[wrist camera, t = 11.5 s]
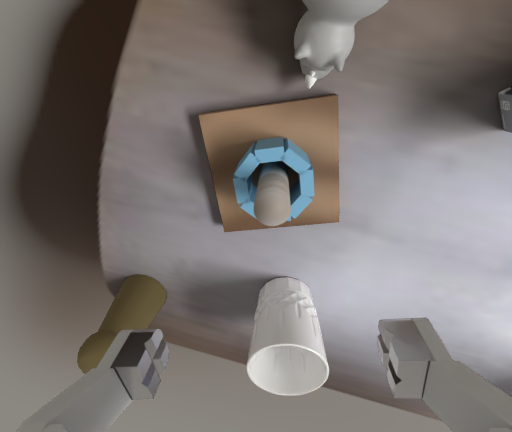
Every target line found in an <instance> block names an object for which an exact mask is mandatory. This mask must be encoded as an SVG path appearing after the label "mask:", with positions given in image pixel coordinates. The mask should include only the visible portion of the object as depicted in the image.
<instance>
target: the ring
mask: <svg viewBox="0 0 512 432" xmlns="http://www.w3.org/2000/svg"><path fill="white" fill-rule="evenodd" d="M275 161H283V162H284V163H286V164H287V165H288V166H290V167H291V168H292V169H294V170H295V171H296V172H297V173H298V181H297V182H296V183H295V184H294V185H293V187H292V188H291V189H290V190H289V193H290V204H291V213H290V216H289V218H288V219H287V220H286V221H291V216H292V217H293V218H296V217H297V216H298V215H299V214H300V213H301V212H302V211H303V210H304V209H305V208H306V207H307V206H308V205H309V204H310V203H311V202H312V201H313V199H312V196H314V176H313V168H312V165H311V162H310V159H309V157H308V155H307V153H305V152H304V151H303V150H302V149H301V148H299V147H298V146H297V145H296V144H294V143H293V142H292V141H291V140H289V139H288V138H287V139H286V140H285V142H284V140H283V137H278V138H270V139H262V140H258V141H257V144H255V143H253V144H252V146H251V147H250V148H249V150H248V151H247V152H246V154H245V155H244V156H243V158H242V159H241V160H240V162H239V164H238V166H237V168H236V171H235V173H234V177H233V182H234V187H235V193H236V198H237V203H238V204H240V203H241V206H240V208H242V209H243V210H245V211H246V212H247V213H249V214H250V215H252V216H253V217H255V215H254V210H253V209H254V202H255V197H256V192H257V187H255V186H254V185H253V181H252V175H251V174H252V172H253V171H254V170H255V168H256V167H257V166H258V165H259V163H267V162H275ZM255 218H256V217H255ZM256 219H257V218H256Z"/></svg>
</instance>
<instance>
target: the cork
mask: <svg viewBox="0 0 512 432" xmlns="http://www.w3.org/2000/svg"><path fill="white" fill-rule="evenodd" d="M166 299H167V294H166V290H165V289H164V287H163V286H162V285H161V284H160V282H158V281H157V280H155V279H154V278H152V277H149V276H146V275H132V276H130V277H128V278H126V279H125V281H124V282H123V284H122V286H121V287H120V289H119V291H118V293H117V295H116V297H115V299H114V301H113V303H112V305H111V307H110V309H109V311H108V313H107V315H106V317H105V319H104V321H103V323H102V325H101V327H100V329H99V330H98V332H97V333H95V334H92V335H91V336H90V337H89V338H88V339H87V340H86V341H85V342H84V344H83V345H82V346H81V348H80V350H79V352H78V359H77V363H78V366H79V368H80V369H81V370H82V371H83V373H85V374H86V373H87V372H88V371H90V370H91V369H92V368H97V366H98V364H99V363H100V361H101V360H102V358H103V357H104V355H105V353H106V352H107V350H108V349H109V347H110V345H111V344H112V342H113V341H114V339H115V338H116V336H117V334H118V333H119V332H120V331H122V330H134V329H147V327H148V326H149V325H150V323H151V322H152V320H153V319H154V318H155V316H156V315H157V313H158V312H159V310H160V309H161V308H162V306H163V305H164V303H165V302H166Z"/></svg>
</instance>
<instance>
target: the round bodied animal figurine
mask: <svg viewBox="0 0 512 432" xmlns="http://www.w3.org/2000/svg"><path fill="white" fill-rule="evenodd" d="M302 1H303V2H304V4H305V5H306V6H307V8H308V10H307V12H306V13H305V14H304V15H303V16H302V18H301V19H300V21H299V23H298V25H297V28H296V31H295V35H294V48H295V55H294V57H295V59H299V60H300V65H301V71H302V73H303V74H305V84H306V87H307V89H310V88H311V87H312V85H313V84H314V83H315V81H316V80H319V79H322V78H323V77H324V76H326V75H327V74H328V73H329V72H330V71H331V69H333V68H334V67H335V68H336V70H337V71H339V72H340V71H342V69H343V66H344V61H345V59H346V58H347V56H348V55H349V53H350V51H351V49H352V47H353V43H354V37H355V34H354V25H355V24H356V22H357V21H359V20H360V19H362V18H364V17H367V16H369V15H371V14H373V13H374V12H376V11H377V10H378V9H380V8H381V7H382V6H384V5H385V4H386V3H387V2H388V1H389V0H302Z"/></svg>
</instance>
